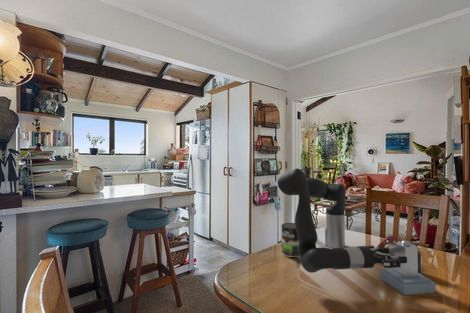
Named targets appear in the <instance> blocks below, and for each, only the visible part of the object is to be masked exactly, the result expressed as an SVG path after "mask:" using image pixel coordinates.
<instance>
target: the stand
mask: <svg viewBox="0 0 470 313" xmlns="http://www.w3.org/2000/svg"><path fill="white" fill-rule="evenodd" d="M393 269H395V268H383V269H380V270H379V271H380V272H379V274H380V276H379V278H380V280H382V281H384V282H385V283H386V284H388V285H389V286H391V287H392V288H393V289H395V290H396V291H398V292H400V293H401V294H402V295H404V296H407V295H408V296H409V295H419V294H420V295H421V294H422V295H423V294H430V293H431V294H432V293H436V282H434V281H432V279H431V278H428V277H426V276H425V275H423V274H419V273H418V275H420V277H418V278H406V279H405V278H404V277H402V276H400V275H399V274H397V273H395V272H394V271H393Z"/></svg>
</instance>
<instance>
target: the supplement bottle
mask: <svg viewBox="0 0 470 313" xmlns="http://www.w3.org/2000/svg"><path fill="white" fill-rule="evenodd" d="M410 244H412V245H414V246H417V247H418V248H419V245H418V243H416V242H412V241H410ZM422 268H423V267H422V253H421V251H420V250H418V273H419V274H421V275H423V273H422V272H423V270H422Z"/></svg>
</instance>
